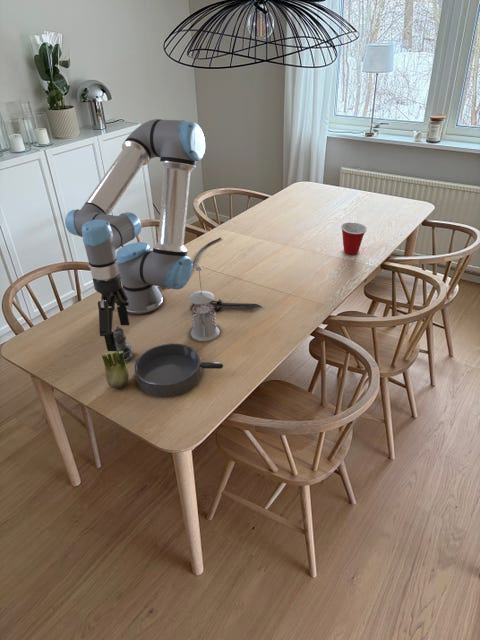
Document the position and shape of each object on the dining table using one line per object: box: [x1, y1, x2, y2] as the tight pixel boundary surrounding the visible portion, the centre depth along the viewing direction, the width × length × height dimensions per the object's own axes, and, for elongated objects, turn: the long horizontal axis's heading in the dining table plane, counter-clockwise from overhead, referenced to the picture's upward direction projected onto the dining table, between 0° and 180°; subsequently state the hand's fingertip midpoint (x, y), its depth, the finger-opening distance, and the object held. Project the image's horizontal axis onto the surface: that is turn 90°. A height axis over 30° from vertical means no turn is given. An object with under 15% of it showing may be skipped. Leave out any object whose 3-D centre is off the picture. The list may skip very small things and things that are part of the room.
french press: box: [188, 265, 220, 342], centre depth 151 cm, size 10×12×25 cm
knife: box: [191, 299, 263, 313], centre depth 170 cm, size 25×6×1 cm, turn 78°
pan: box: [134, 343, 203, 398], centre depth 140 cm, size 19×19×4 cm
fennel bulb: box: [101, 351, 129, 389], centre depth 134 cm, size 6×5×12 cm
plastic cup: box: [340, 221, 368, 256], centre depth 200 cm, size 11×11×12 cm
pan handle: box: [200, 361, 224, 370], centre depth 138 cm, size 7×2×2 cm, turn 86°
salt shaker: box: [113, 326, 134, 363], centre depth 145 cm, size 6×6×12 cm
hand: (119, 337), depth 144 cm, fingers open, 13 cm apart
